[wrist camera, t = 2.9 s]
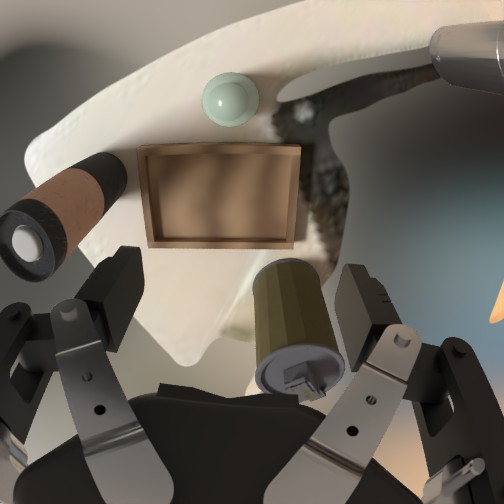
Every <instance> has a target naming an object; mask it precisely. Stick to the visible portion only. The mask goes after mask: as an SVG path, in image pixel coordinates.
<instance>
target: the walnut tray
mask: <svg viewBox="0 0 504 504" xmlns="http://www.w3.org/2000/svg"><path fill="white" fill-rule="evenodd" d="M137 157H138V168H139V179H140V188H141V197H142V206H143V214H144V221H145V229H146V236H147V243H148V248H194V249H293V245H294V235H295V223H296V211H297V199H298V186H299V172H300V158H301V146H300V145H299V144H283V143H242V142H220V143H179V144H159V145H143V146H140V147H139V148H137Z"/></svg>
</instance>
